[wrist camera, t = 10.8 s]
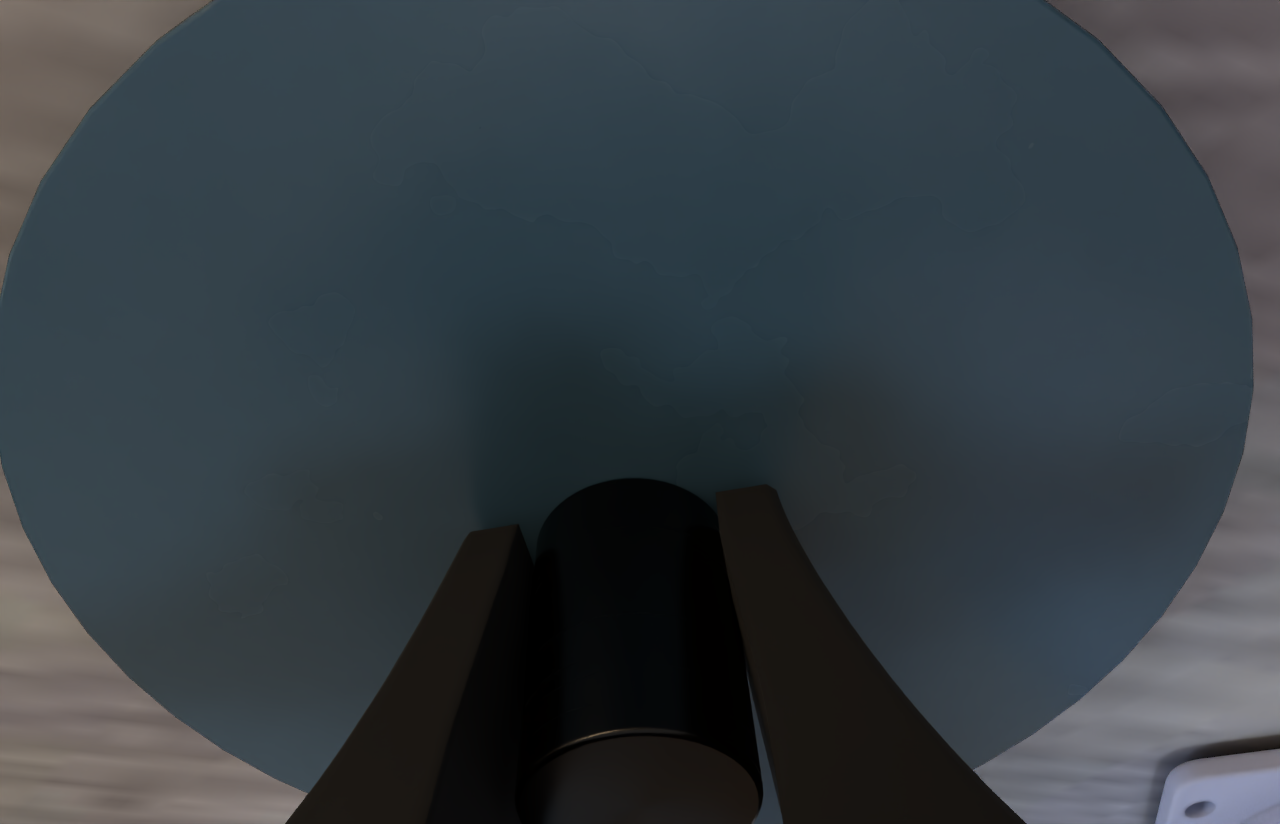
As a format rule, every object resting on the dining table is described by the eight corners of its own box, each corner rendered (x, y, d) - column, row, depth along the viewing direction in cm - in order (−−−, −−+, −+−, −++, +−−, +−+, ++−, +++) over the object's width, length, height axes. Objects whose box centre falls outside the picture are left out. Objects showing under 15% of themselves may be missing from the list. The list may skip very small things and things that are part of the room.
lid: (1131, 736, 16) (1282, 1033, 13) (321, 842, 18) (246, 1138, 14) (1341, -321, 8) (2006, -346, 4) (-274, 46, 9) (-876, 277, 5)
